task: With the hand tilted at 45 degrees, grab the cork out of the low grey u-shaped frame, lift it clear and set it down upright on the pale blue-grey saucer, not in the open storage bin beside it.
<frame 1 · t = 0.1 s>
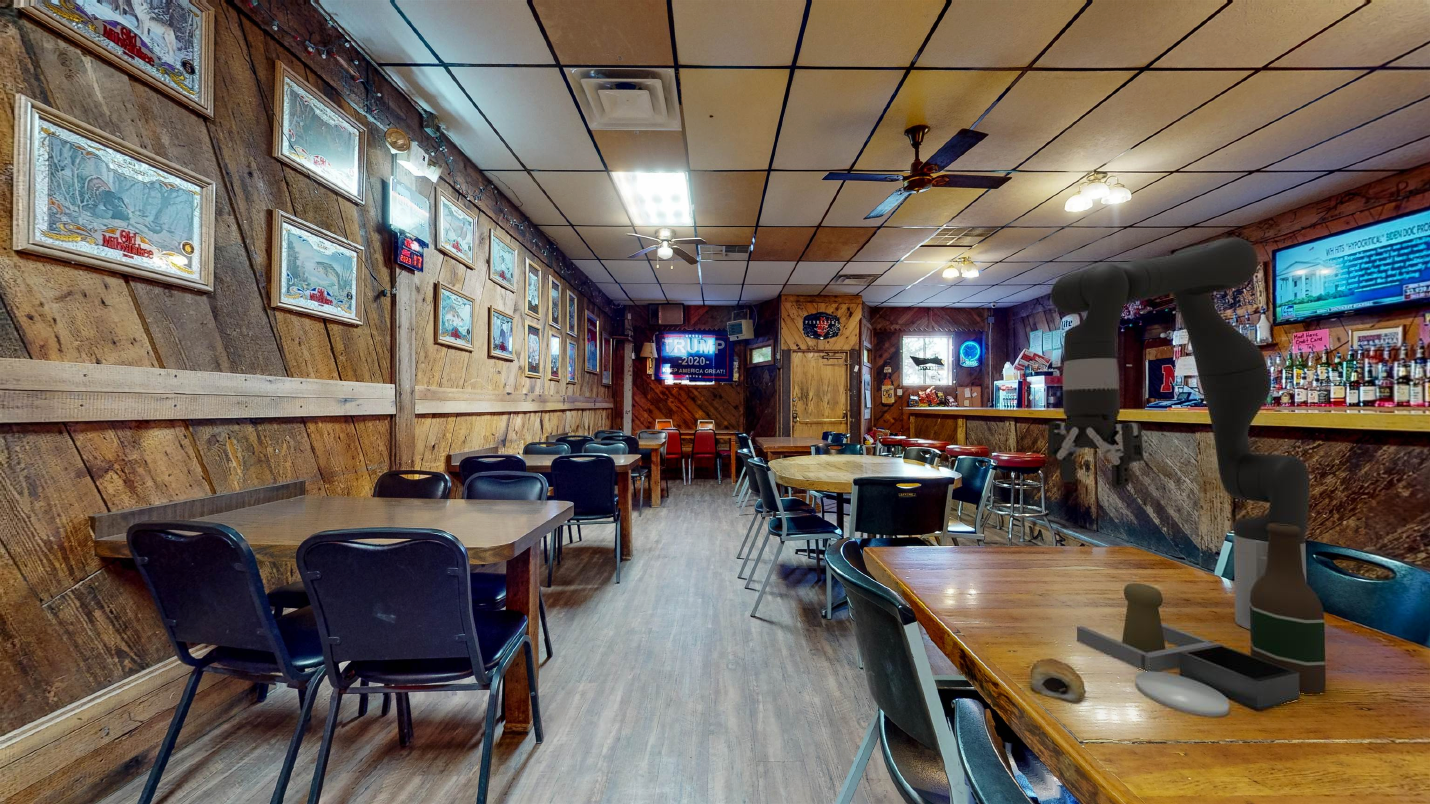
hand: (1092, 484, 84), 29 cm above the table, tool pointing down, fingers open, 8 cm apart
cork: (1143, 650, 88), on the table
saucer: (1180, 696, 73), on the table
open storage bin: (1237, 688, 75), on the table
pastry: (1055, 689, 75), on the table
beer bottle: (1286, 684, 77), on the table
grey u-shaped frame: (1143, 648, 88), on the table
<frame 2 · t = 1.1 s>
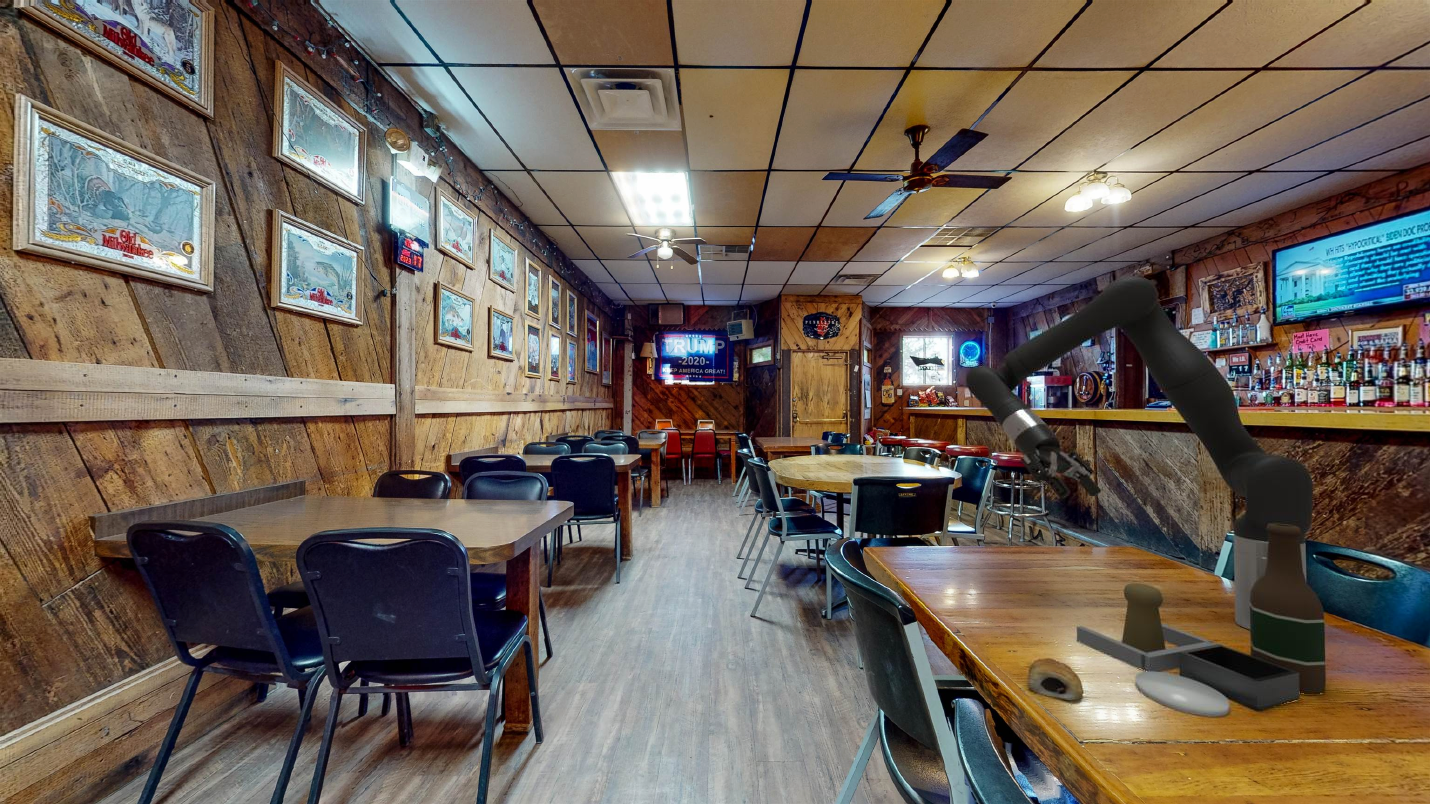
hand: (1081, 495, 100), 25 cm above the table, tool tilted 45°, fingers open, 8 cm apart
nothing on the table moved.
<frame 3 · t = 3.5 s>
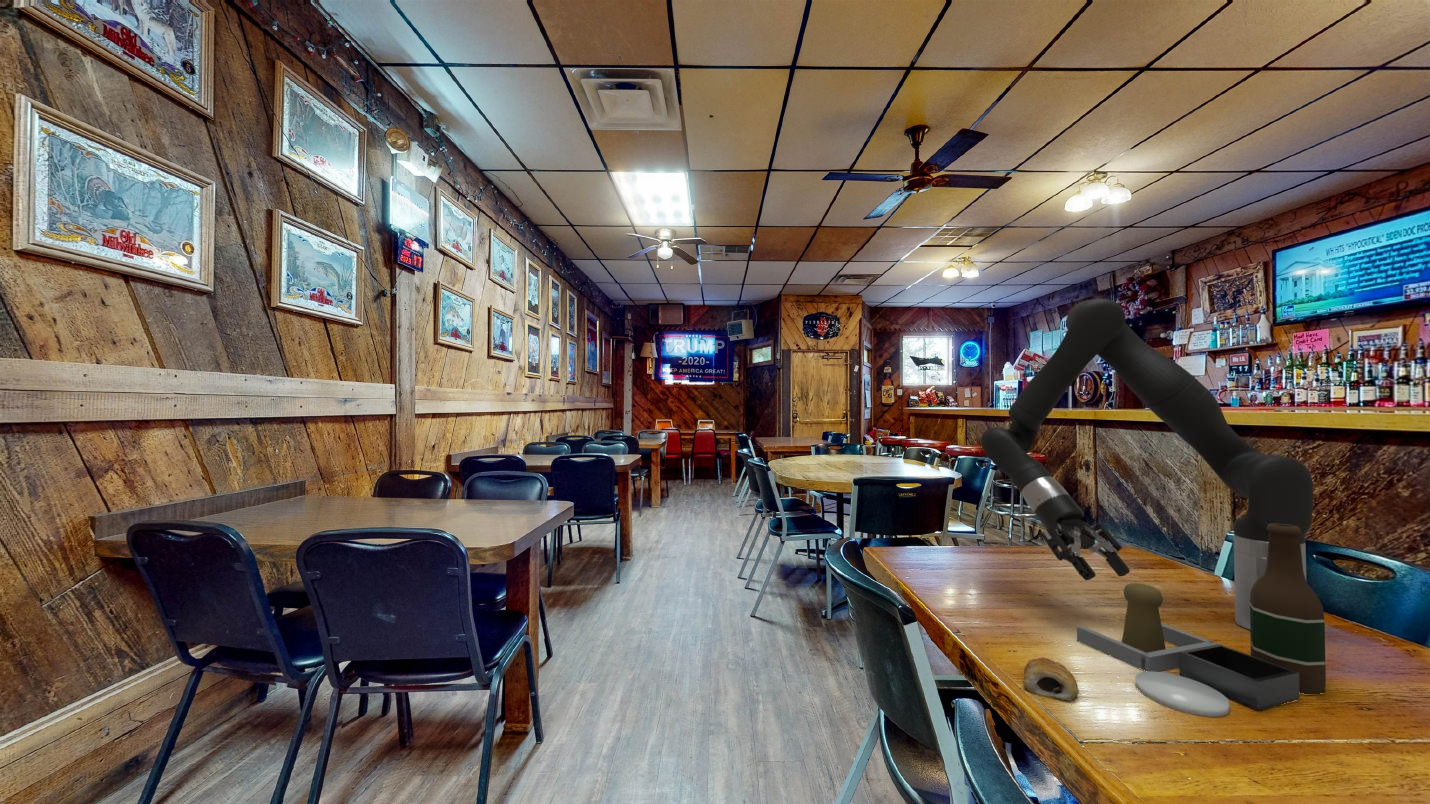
hand: (1108, 576, 93), 11 cm above the table, tool tilted 45°, fingers open, 8 cm apart
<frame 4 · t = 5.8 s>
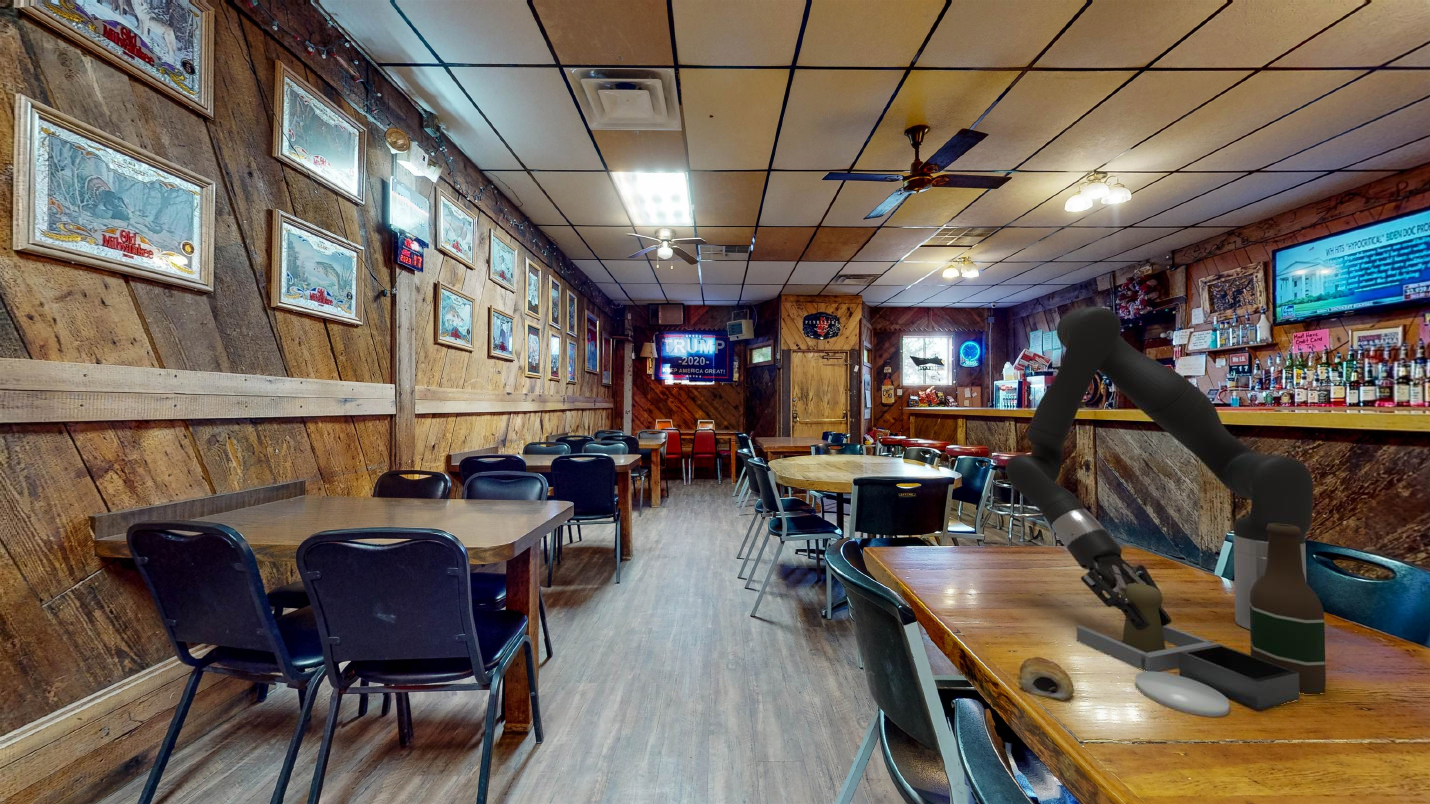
hand: (1155, 625, 86), 5 cm above the table, tool tilted 45°, fingers closed on cork, 4 cm apart
cork: (1143, 649, 88), on the table, touching gripper
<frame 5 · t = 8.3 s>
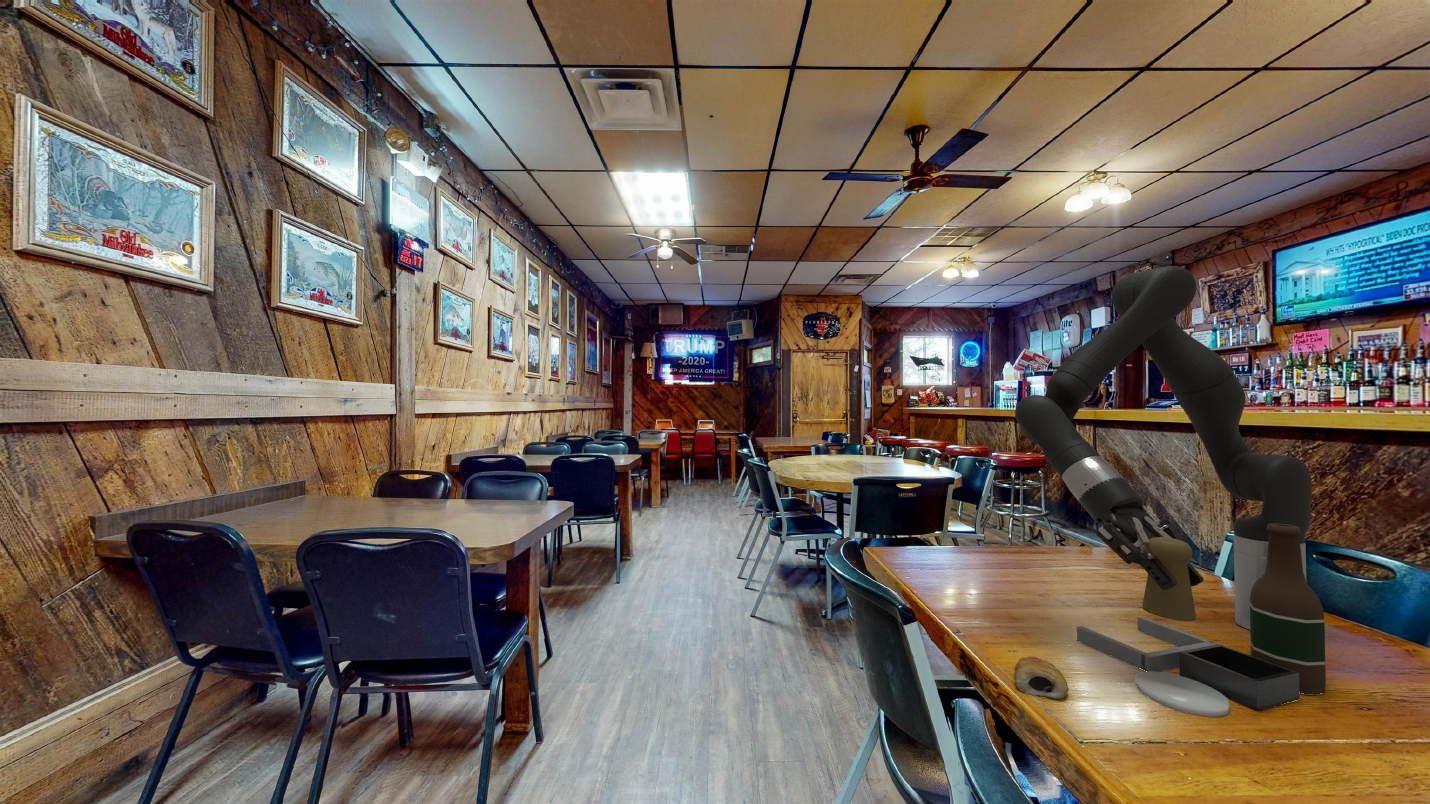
hand: (1183, 584, 73), 16 cm above the table, tool tilted 45°, fingers closed on cork, 4 cm apart
cork: (1168, 614, 75), point 11 cm above the table, touching gripper
when the fingers open (7 cm above the table, at t = 11.0 s): cork drops 1 cm, resting on saucer.
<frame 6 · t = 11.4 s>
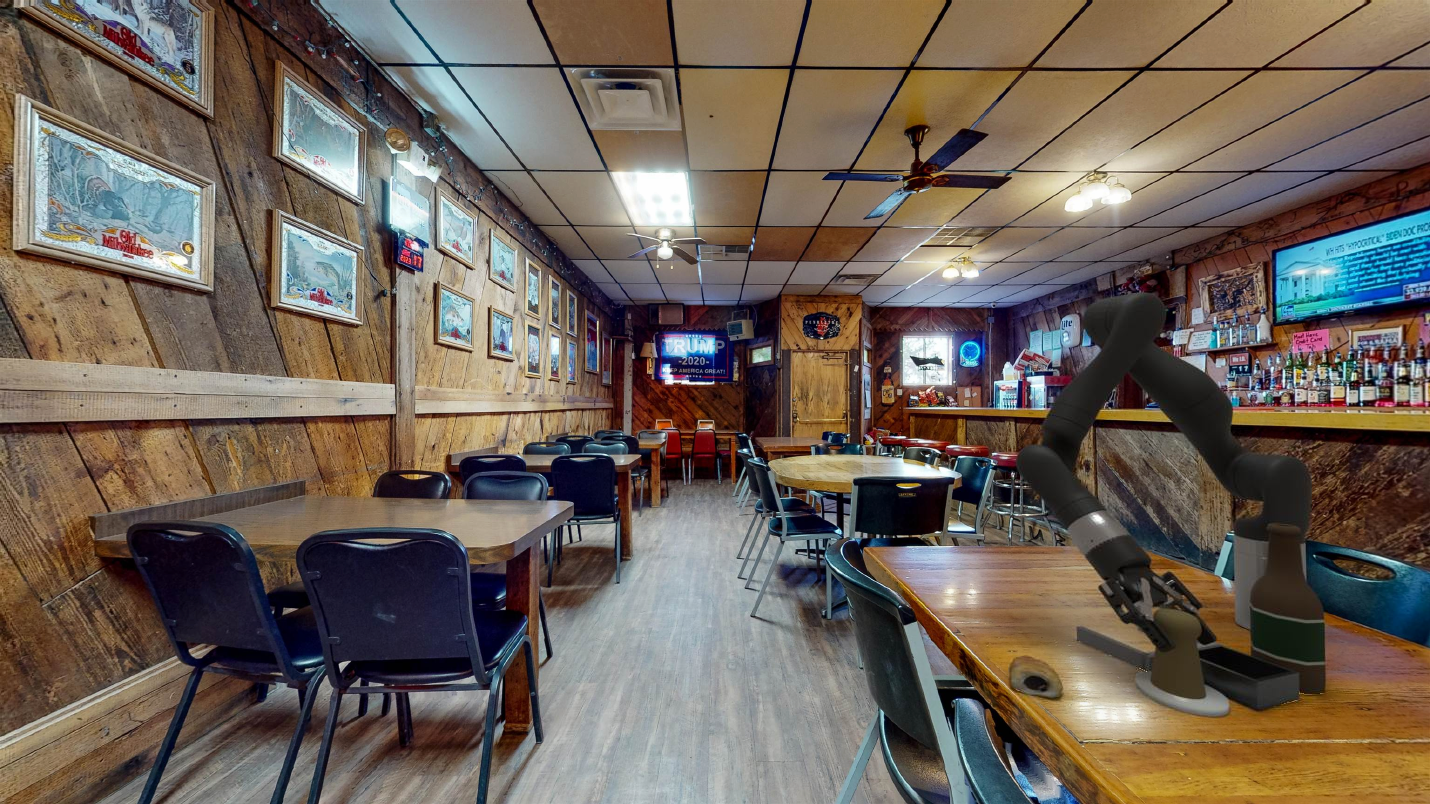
hand: (1190, 646, 72), 8 cm above the table, tool tilted 45°, fingers open, 8 cm apart
cork: (1177, 688, 73), point 1 cm above the table, touching saucer
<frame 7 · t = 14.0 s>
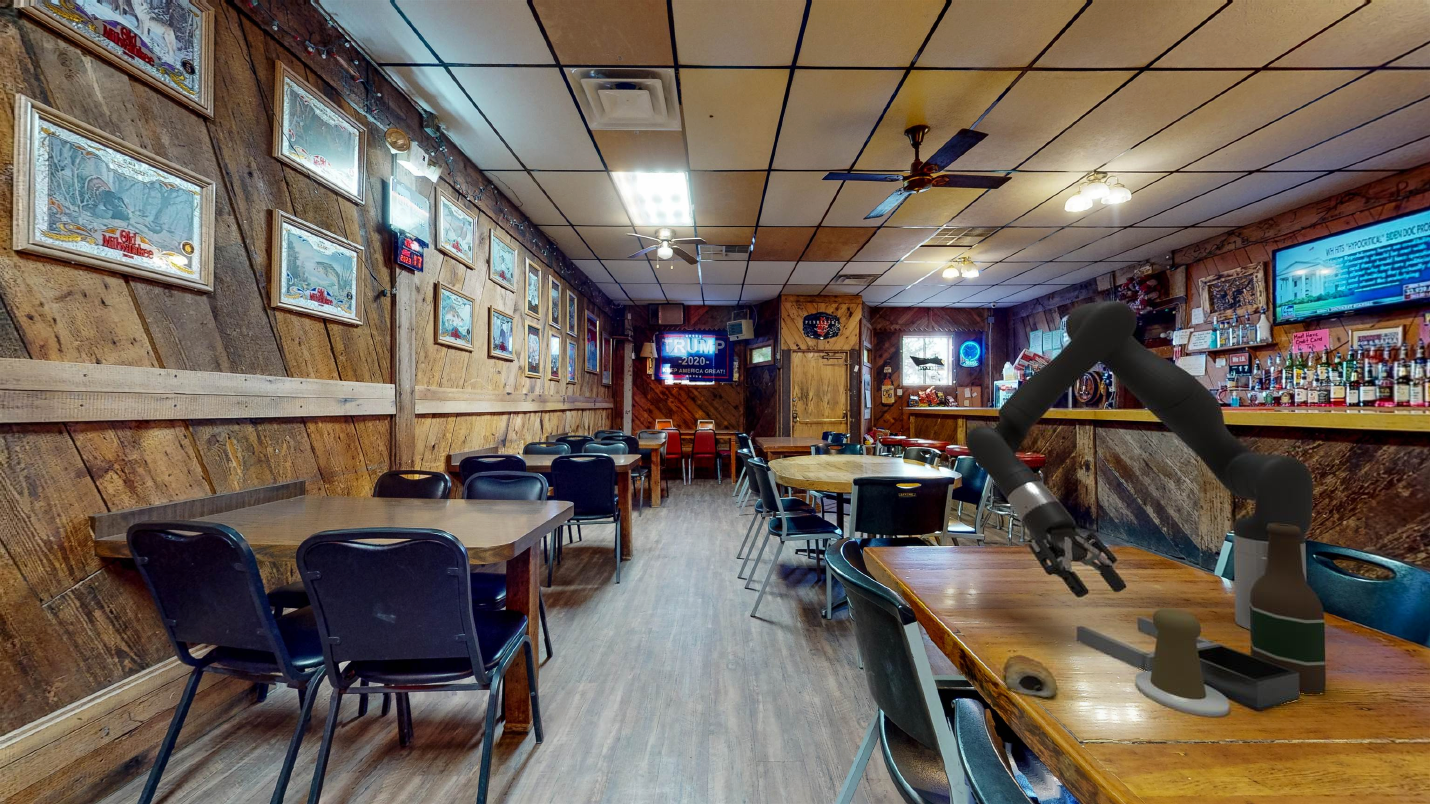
hand: (1102, 592, 84), 11 cm above the table, tool tilted 45°, fingers open, 8 cm apart
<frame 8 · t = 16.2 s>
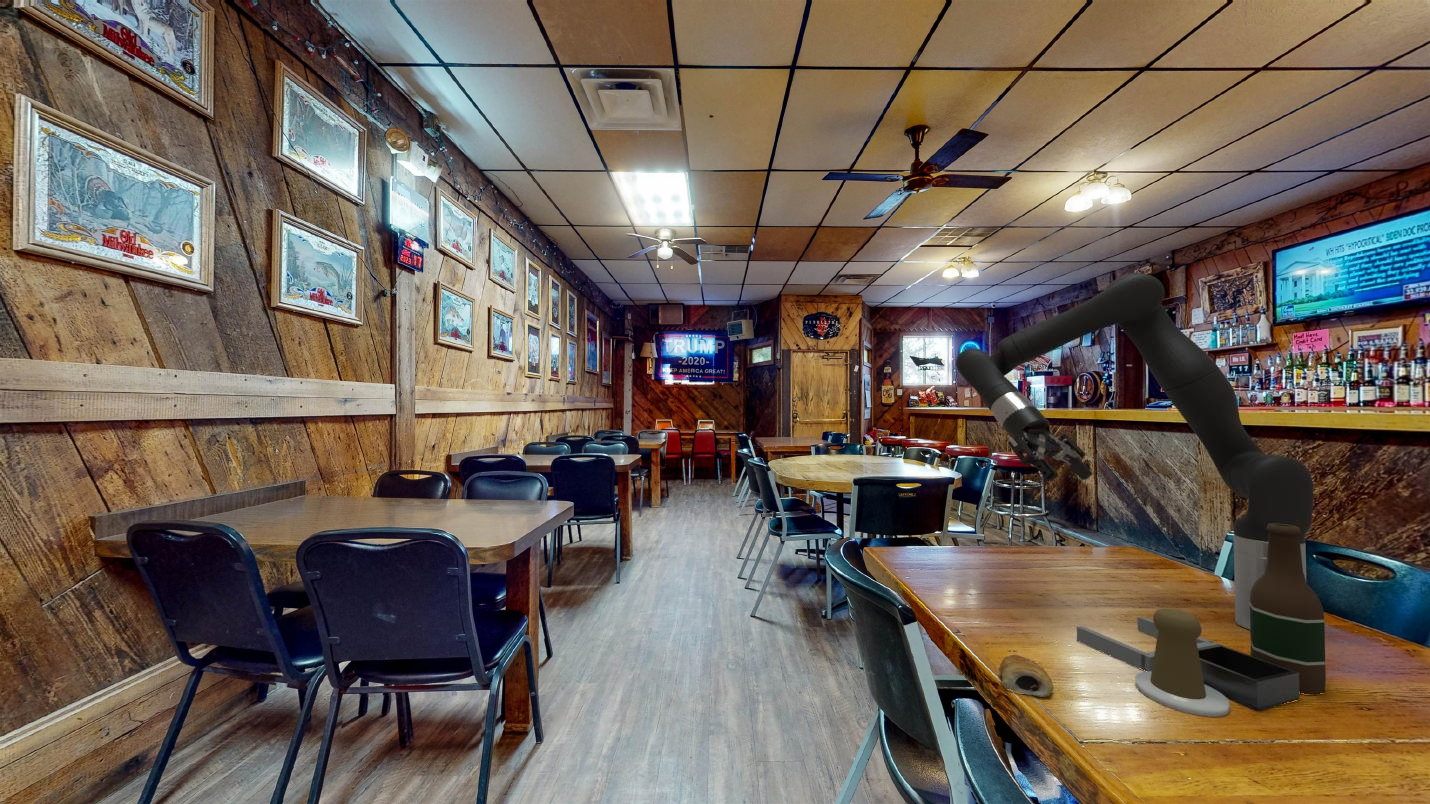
hand: (1071, 477, 96), 29 cm above the table, tool tilted 45°, fingers open, 8 cm apart
at the end: cork 0.4 cm off-centre on the saucer, point 0.8 cm above the saucer's base; cork tilted 0°; the gripper is holding nothing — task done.
